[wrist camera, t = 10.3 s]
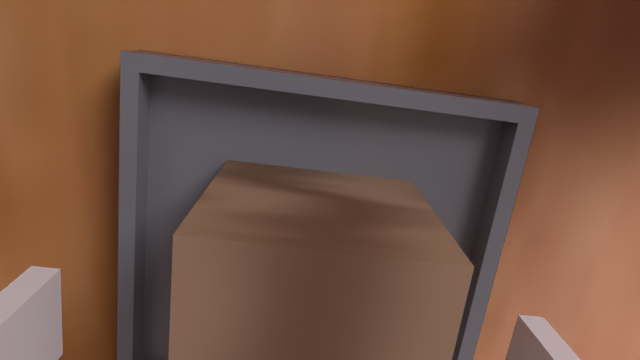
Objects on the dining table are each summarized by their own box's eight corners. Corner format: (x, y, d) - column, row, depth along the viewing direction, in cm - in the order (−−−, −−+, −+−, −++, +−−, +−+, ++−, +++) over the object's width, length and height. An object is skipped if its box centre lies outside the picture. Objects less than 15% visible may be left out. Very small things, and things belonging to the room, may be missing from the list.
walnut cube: (216, 322, 19) (164, 473, 12) (227, 159, 17) (172, 234, 10) (382, 338, 19) (419, 494, 13) (412, 181, 18) (474, 266, 11)
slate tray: (132, 374, 20) (116, 404, 19) (140, 50, 17) (120, 50, 15) (440, 404, 21) (451, 437, 20) (517, 101, 17) (539, 107, 16)
